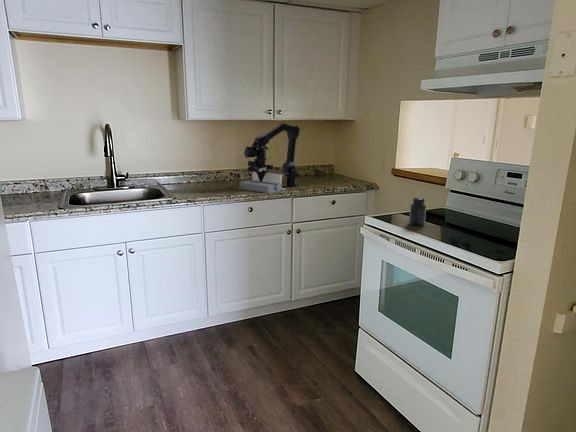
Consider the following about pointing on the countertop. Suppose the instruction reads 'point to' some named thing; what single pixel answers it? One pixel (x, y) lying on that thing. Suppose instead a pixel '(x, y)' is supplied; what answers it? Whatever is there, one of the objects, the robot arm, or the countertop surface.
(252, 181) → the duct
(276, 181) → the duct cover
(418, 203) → the supplement bottle
